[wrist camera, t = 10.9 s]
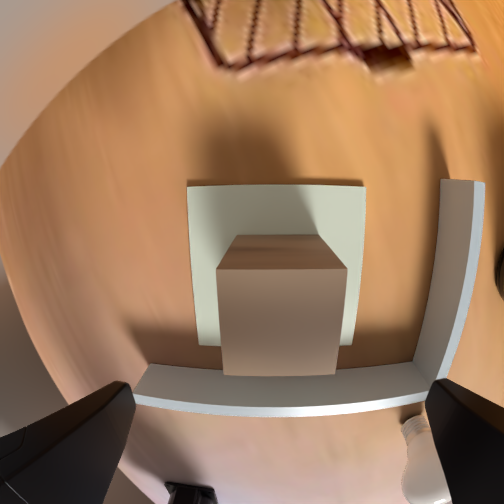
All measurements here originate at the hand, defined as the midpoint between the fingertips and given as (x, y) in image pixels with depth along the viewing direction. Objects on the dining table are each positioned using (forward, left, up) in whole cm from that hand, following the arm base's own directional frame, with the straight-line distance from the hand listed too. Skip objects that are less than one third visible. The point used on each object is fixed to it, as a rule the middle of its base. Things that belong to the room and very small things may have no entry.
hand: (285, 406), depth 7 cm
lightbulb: (-16, -14, -12) cm, 24 cm away
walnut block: (0, 0, -12) cm, 12 cm away
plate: (0, 0, -12) cm, 12 cm away
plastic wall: (-1, -1, -12) cm, 12 cm away
